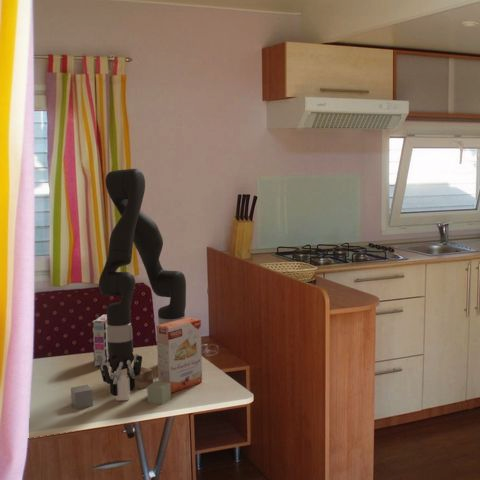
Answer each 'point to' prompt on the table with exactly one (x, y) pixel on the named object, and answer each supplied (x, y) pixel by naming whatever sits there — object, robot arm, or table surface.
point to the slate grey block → (81, 396)
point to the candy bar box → (100, 340)
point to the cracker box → (179, 353)
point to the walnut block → (144, 378)
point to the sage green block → (159, 392)
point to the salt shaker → (123, 386)
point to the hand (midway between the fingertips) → (122, 392)
